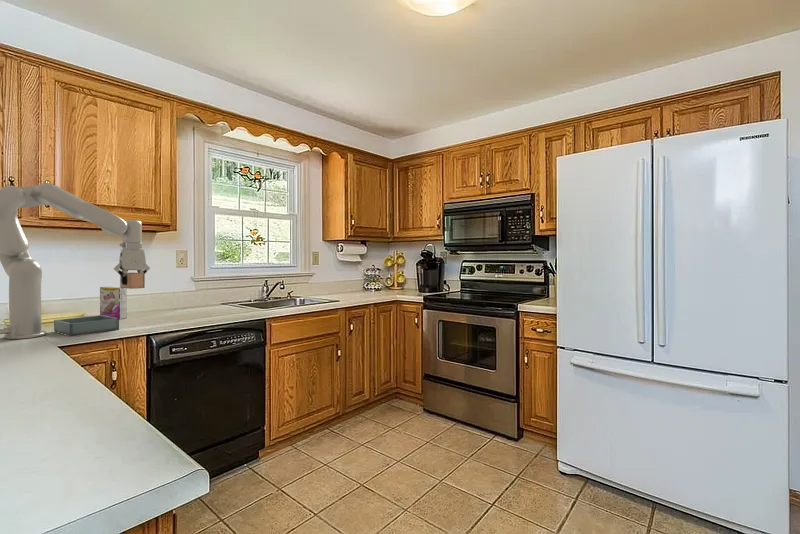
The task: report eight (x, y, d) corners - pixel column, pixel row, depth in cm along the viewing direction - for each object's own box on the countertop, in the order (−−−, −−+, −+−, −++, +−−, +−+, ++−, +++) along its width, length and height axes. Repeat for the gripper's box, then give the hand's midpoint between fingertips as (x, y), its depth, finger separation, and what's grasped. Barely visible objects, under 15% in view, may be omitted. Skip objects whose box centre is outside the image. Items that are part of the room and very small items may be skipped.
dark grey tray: (69, 336, 166) (69, 324, 166) (54, 331, 175) (54, 320, 175) (119, 329, 182) (118, 318, 182) (102, 325, 190) (102, 315, 190)
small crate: (130, 288, 188) (130, 273, 188) (120, 287, 194) (120, 272, 194) (144, 288, 194) (144, 273, 193) (133, 286, 199) (133, 272, 199)
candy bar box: (99, 319, 208) (99, 286, 207) (107, 317, 213) (107, 286, 212) (119, 319, 207) (119, 287, 206) (127, 318, 212) (127, 286, 211)
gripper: (115, 245, 184) (115, 285, 184) (155, 246, 198) (155, 283, 199) (108, 245, 188) (108, 284, 188) (147, 246, 202) (147, 283, 203)
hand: (132, 283), depth 194 cm, fingers closed on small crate, 6 cm apart
